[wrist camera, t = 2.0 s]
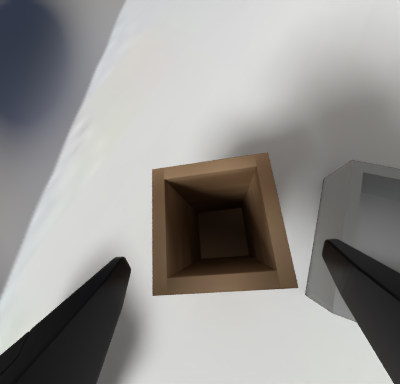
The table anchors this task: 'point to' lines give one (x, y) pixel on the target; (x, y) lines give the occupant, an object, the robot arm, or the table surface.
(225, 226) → the small crate
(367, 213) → the grey square tray
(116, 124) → the table surface
